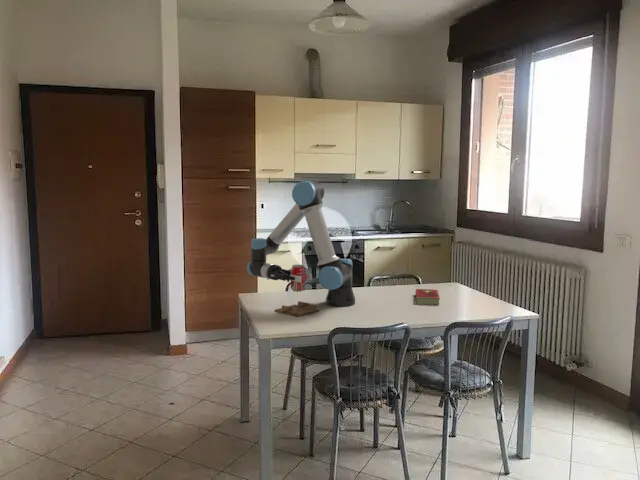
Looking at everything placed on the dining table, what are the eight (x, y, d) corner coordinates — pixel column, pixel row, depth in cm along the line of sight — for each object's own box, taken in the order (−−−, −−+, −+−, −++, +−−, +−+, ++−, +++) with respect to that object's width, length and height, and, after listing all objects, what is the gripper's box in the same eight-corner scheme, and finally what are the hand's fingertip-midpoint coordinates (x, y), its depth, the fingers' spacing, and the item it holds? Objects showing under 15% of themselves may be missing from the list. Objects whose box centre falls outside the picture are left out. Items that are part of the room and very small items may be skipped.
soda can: (290, 288, 254) (290, 264, 253) (305, 288, 255) (305, 264, 253) (290, 292, 247) (290, 267, 246) (305, 292, 248) (306, 267, 246)
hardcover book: (415, 304, 270) (415, 296, 269) (415, 295, 290) (415, 288, 290) (439, 306, 268) (439, 297, 267) (437, 296, 288) (437, 289, 288)
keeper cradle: (274, 311, 253) (274, 304, 252) (294, 306, 263) (294, 299, 263) (299, 317, 242) (299, 310, 242) (319, 311, 253) (319, 304, 253)
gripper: (285, 276, 270) (319, 283, 255) (257, 282, 255) (291, 289, 240) (285, 262, 269) (319, 267, 254) (257, 266, 254) (291, 273, 239)
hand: (306, 278), depth 247 cm, fingers closed on soda can, 7 cm apart
